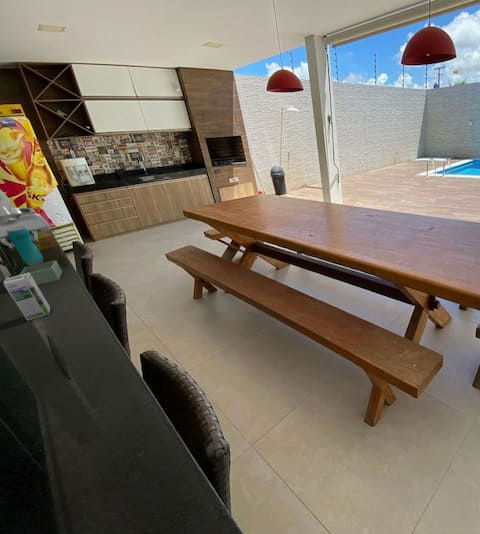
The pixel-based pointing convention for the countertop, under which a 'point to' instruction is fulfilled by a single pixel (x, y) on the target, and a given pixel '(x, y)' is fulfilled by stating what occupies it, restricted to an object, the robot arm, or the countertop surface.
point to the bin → (44, 272)
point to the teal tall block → (25, 245)
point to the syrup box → (27, 296)
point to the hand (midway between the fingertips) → (25, 244)
